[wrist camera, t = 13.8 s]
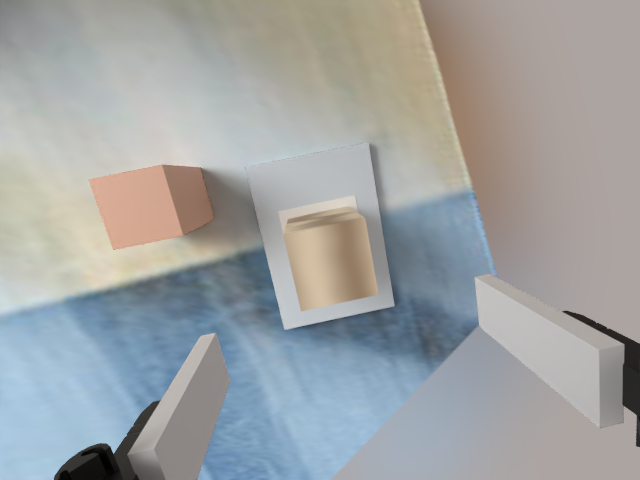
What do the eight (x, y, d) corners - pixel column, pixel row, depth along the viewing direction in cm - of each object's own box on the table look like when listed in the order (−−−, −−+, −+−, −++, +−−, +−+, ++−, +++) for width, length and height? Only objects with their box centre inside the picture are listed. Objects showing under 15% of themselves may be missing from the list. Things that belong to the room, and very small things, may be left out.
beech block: (301, 275, 37) (301, 311, 27) (288, 218, 36) (283, 235, 26) (358, 263, 37) (378, 294, 28) (347, 206, 36) (365, 217, 26)
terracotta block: (163, 229, 36) (113, 249, 26) (147, 178, 35) (88, 179, 25) (214, 219, 36) (183, 235, 27) (200, 167, 35) (161, 164, 25)
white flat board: (285, 325, 40) (284, 330, 38) (246, 167, 35) (244, 167, 34) (392, 302, 40) (394, 306, 39) (366, 143, 36) (368, 141, 34)
